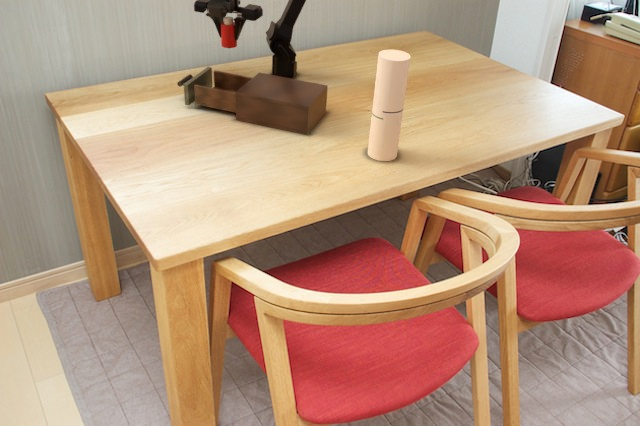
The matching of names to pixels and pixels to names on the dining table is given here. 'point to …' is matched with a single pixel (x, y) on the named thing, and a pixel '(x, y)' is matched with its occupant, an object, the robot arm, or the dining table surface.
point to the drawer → (213, 89)
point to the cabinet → (281, 103)
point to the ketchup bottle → (228, 33)
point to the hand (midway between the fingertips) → (229, 38)
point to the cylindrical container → (388, 104)
